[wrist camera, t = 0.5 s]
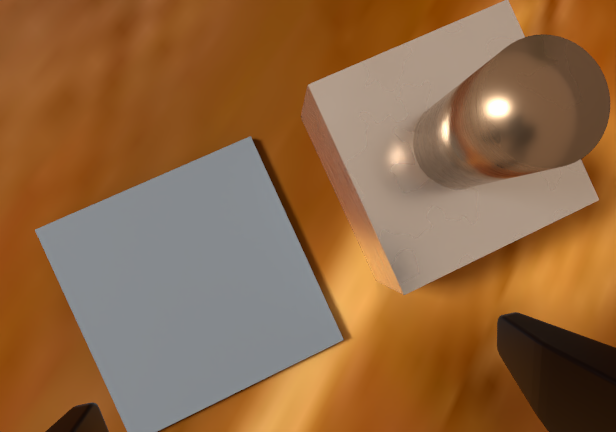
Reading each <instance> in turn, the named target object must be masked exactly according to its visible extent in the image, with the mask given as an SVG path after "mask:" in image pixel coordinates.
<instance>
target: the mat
mask: <svg viewBox="0 0 616 432" xmlns="http://www.w3.org/2000/svg"><path fill="white" fill-rule="evenodd" d="M35 231H36V233H37V236H38V238H39V240H40V242H41V244H42V246H43V249H44V251H45V253H46V255H47V257H48V260H49V262H50V264H51V266H52V268H53V270H54V273H55V275H56V277H57V279H58V281H59V283H60V286H61V288H62V290H63V292H64V294H65V297H66V299H67V301H68V303H69V305H70V307H71V310H72V312H73V314H74V316H75V318H76V321H77V323H78V325H79V327H80V329H81V331H82V334H83V336H84V338H85V340H86V342H87V345H88V347H89V349H90V351H91V353H92V355H93V358H94V360H95V362H96V364H97V366H98V368H99V371H100V373H101V375H102V377H103V379H104V382H105V384H106V386H107V388H108V390H109V392H110V395H111V397H112V399H113V401H114V403H115V406H116V408H117V410H118V412H119V414H120V416H121V419H122V421H123V423H124V425H125V427H126V430H127V432H157V431H159V430H161V429H163V428H165V427H167V426H169V425H171V424H173V423H175V422H178V421H180V420H182V419H184V418H186V417H188V416H190V415H192V414H194V413H196V412H198V411H200V410H202V409H204V408H206V407H208V406H210V405H212V404H214V403H216V402H218V401H220V400H222V399H224V398H226V397H228V396H230V395H233V394H235V393H237V392H239V391H241V390H243V389H245V388H247V387H249V386H251V385H253V384H255V383H257V382H259V381H261V380H263V379H265V378H267V377H269V376H271V375H273V374H275V373H277V372H279V371H281V370H283V369H286V368H288V367H290V366H292V365H294V364H296V363H298V362H300V361H302V360H304V359H306V358H308V357H310V356H312V355H314V354H316V353H318V352H320V351H322V350H324V349H326V348H328V347H330V346H332V345H334V344H336V343H338V342H341V341H343V340H344V339H343V337H342V335H341V333H340V330H339V328H338V326H337V324H336V322H335V319H334V317H333V315H332V313H331V311H330V309H329V306H328V304H327V302H326V300H325V298H324V295H323V293H322V291H321V289H320V287H319V285H318V282H317V280H316V278H315V276H314V274H313V271H312V269H311V267H310V265H309V263H308V260H307V258H306V256H305V254H304V252H303V250H302V247H301V245H300V243H299V241H298V239H297V236H296V234H295V232H294V230H293V228H292V226H291V223H290V221H289V219H288V217H287V215H286V212H285V210H284V208H283V206H282V204H281V202H280V199H279V197H278V195H277V193H276V191H275V188H274V186H273V184H272V182H271V180H270V178H269V175H268V173H267V171H266V169H265V167H264V164H263V162H262V160H261V158H260V156H259V153H258V151H257V149H256V147H255V145H254V143H253V140H252V138H251V136H250V137H248V138H246V139H243V140H241V141H239V142H236V143H234V144H232V145H229V146H227V147H225V148H223V149H220V150H218V151H216V152H213V153H211V154H209V155H206V156H204V157H202V158H199V159H197V160H195V161H193V162H190V163H188V164H186V165H183V166H181V167H179V168H176V169H174V170H172V171H169V172H167V173H165V174H163V175H160V176H158V177H156V178H153V179H151V180H149V181H146V182H144V183H142V184H140V185H137V186H135V187H133V188H130V189H128V190H126V191H123V192H121V193H119V194H116V195H114V196H112V197H110V198H107V199H105V200H103V201H100V202H98V203H96V204H93V205H91V206H89V207H87V208H84V209H82V210H80V211H77V212H75V213H73V214H70V215H68V216H66V217H63V218H61V219H59V220H57V221H54V222H52V223H50V224H47V225H45V226H43V227H40V228H38V229H36V230H35Z"/></svg>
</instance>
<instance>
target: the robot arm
mask: <svg viewBox="0 0 616 432" xmlns="http://www.w3.org/2000/svg"><path fill="white" fill-rule="evenodd" d="M497 348H498V352H499V354H500V356H501V358H502V360H503V361H504V363H505V365H506V366H507V368H508V369H509V371H510V373H511V374H512V376H513V378H514V379H515V381H516V383H517V384H518V386H519V387H520V389H521V391H522V392H523V394H524V396H525V397H526V399H527V400H528V402H529V404H530V405H531V407H532V408H533V410H534V412H535V413H536V415H537V416H538V418H539V419H540V420H541V422H542V423H543V424H544V426H545V427H546V429H547V430H548V431H549V432H616V348H615V347H612V346H609V345H607V344H604V343H601V342H598V341H595V340H593V339H590V338H587V337H584V336H582V335H579V334H576V333H573V332H570V331H568V330H565V329H562V328H559V327H557V326H554V325H551V324H548V323H545V322H543V321H540V320H537V319H534V318H532V317H529V316H526V315H523V314H520V313H516V312H515V313H510V314H505V315H501V316H500V317H499V318H498V322H497ZM46 432H109V431H108V429H107V426H106V424H105V421H104V419H103V416H102V414H101V411H100V409H99V407H98V405H97V404H96V403H87V404H82V405H78V406H75V407H73V408H72V409H70V410H69V411H68V412H67V413H66V414H65V415H64V416H63V417H61V418H60V419H59V420H58V421H57V422H56V423H55V424H54V425H52V426H51V427H50V428H49V429H48V430H47V431H46Z"/></svg>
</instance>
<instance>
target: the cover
mask: <svg viewBox="0 0 616 432" xmlns="http://www.w3.org/2000/svg"><path fill="white" fill-rule="evenodd" d="M609 113H610V96H609V90H608V86H607V82H606V80H605V77H604V75H603V73H602V71H601V69H600V67H599V66H598V64H597V63H596V61H595V60H594V59H593V58H592V57H591V56H590V55H589V53H587V52H586V51H585V50H584V49H583V48H581V47H580V46H578V45H577V44H575V43H573V42H571V41H569V40H567V39H564V38H562V37H558V36H553V35H533V36H528V37H525V36H524V34H523V32H522V29H521V27H520V25H519V23H518V21H517V19H516V16H515V14H514V12H513V10H512V8H511V5H510V3H509V1H508V0H505V1H503V2H500V3H498V4H496V5H493V6H491V7H489V8H486V9H484V10H482V11H479V12H477V13H475V14H472V15H470V16H468V17H465V18H463V19H461V20H458V21H456V22H454V23H451V24H449V25H447V26H444V27H442V28H440V29H437V30H435V31H433V32H430V33H428V34H426V35H423V36H421V37H419V38H416V39H414V40H412V41H409V42H407V43H405V44H402V45H400V46H398V47H395V48H393V49H391V50H388V51H386V52H383V53H381V54H379V55H376V56H374V57H372V58H369V59H367V60H365V61H362V62H360V63H358V64H355V65H353V66H351V67H348V68H346V69H344V70H341V71H339V72H337V73H334V74H332V75H330V76H327V77H325V78H323V79H320V80H318V81H316V82H313V83H311V84H309V85H308V87H307V91H306V96H305V100H304V105H303V109H302V114H301V118H302V120H303V123H304V125H305V127H306V129H307V131H308V134H309V136H310V138H311V140H312V142H313V144H314V147H315V149H316V151H317V153H318V155H319V158H320V160H321V162H322V164H323V166H324V168H325V171H326V173H327V175H328V177H329V179H330V182H331V184H332V186H333V188H334V190H335V193H336V195H337V197H338V199H339V201H340V203H341V206H342V208H343V210H344V212H345V214H346V217H347V219H348V221H349V223H350V225H351V227H352V230H353V232H354V234H355V236H356V238H357V241H358V243H359V245H360V247H361V249H362V252H363V254H364V256H365V258H366V260H367V262H368V265H369V267H370V269H371V271H372V273H373V276H374V278H375V280H376V281H377V282H379V283H381V284H383V285H385V286H387V287H389V288H391V289H393V290H395V291H397V292H399V293H401V294H403V295H405V294H407V293H409V292H412V291H414V290H416V289H418V288H420V287H422V286H424V285H426V284H428V283H430V282H432V281H434V280H436V279H438V278H440V277H442V276H444V275H446V274H448V273H451V272H453V271H455V270H457V269H459V268H461V267H463V266H465V265H467V264H469V263H471V262H473V261H475V260H477V259H479V258H481V257H483V256H485V255H487V254H490V253H492V252H494V251H496V250H498V249H500V248H502V247H504V246H506V245H508V244H510V243H512V242H514V241H516V240H518V239H520V238H522V237H524V236H526V235H529V234H531V233H533V232H535V231H537V230H539V229H541V228H543V227H545V226H547V225H549V224H551V223H553V222H555V221H557V220H559V219H561V218H563V217H565V216H568V215H570V214H572V213H574V212H576V211H578V210H580V209H582V208H584V207H586V206H588V205H590V204H592V203H594V202H596V201H598V200H599V198H598V196H597V194H596V191H595V189H594V187H593V185H592V183H591V180H590V178H589V176H588V174H587V172H586V170H585V167H584V165H583V163H582V161H581V159H582V158H583V157H584V156H586V155H587V154H588V153H589V152H590V151H591V150H592V149H593V148H594V147H595V146H596V145H597V143H598V142H599V141H600V139H601V137H602V136H603V134H604V131H605V129H606V126H607V123H608V119H609Z"/></svg>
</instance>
